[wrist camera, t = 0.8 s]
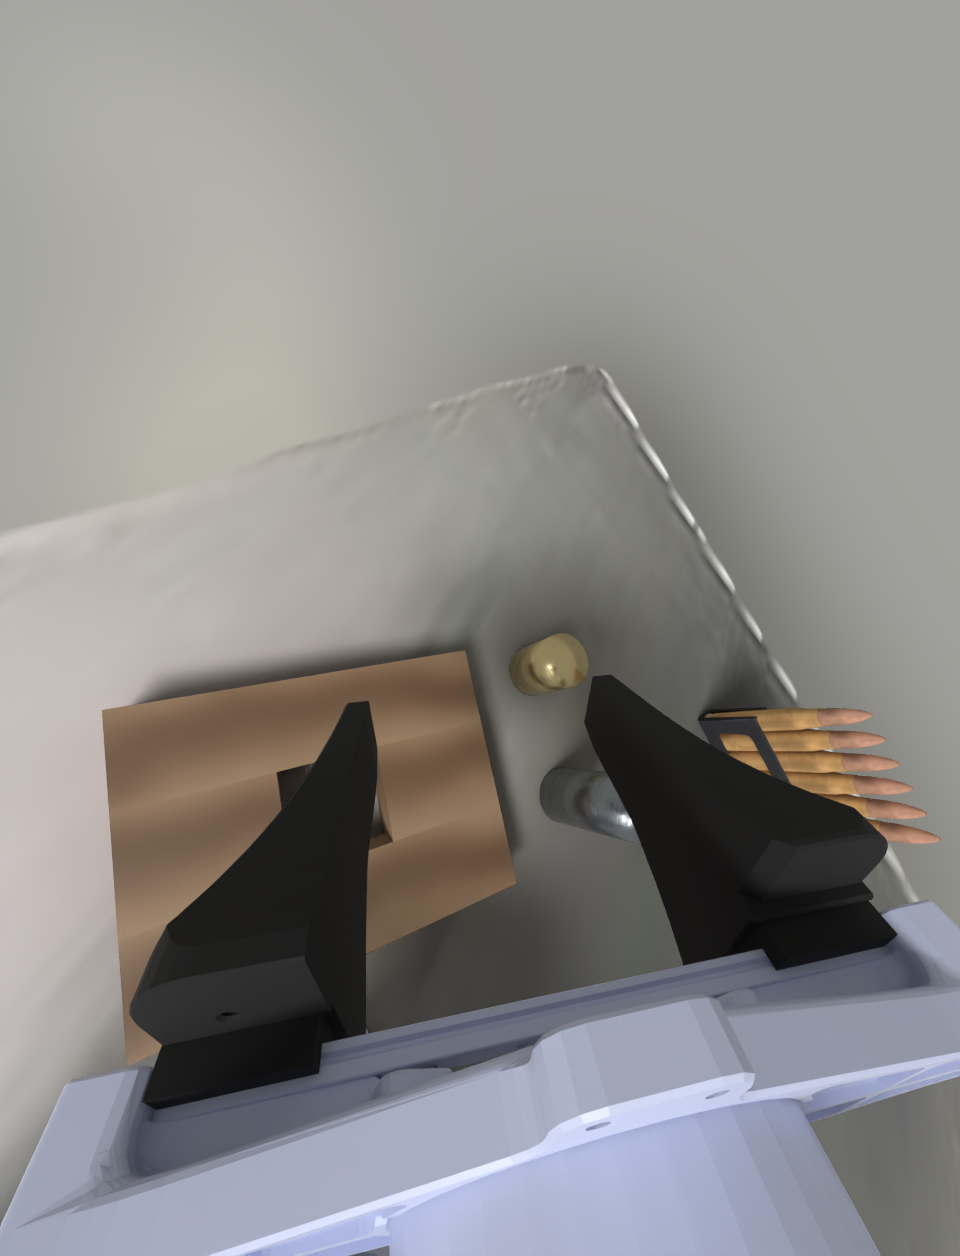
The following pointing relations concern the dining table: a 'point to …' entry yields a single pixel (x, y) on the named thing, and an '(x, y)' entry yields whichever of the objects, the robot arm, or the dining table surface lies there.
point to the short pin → (549, 665)
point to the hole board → (250, 799)
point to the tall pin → (586, 803)
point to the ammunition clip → (816, 759)
